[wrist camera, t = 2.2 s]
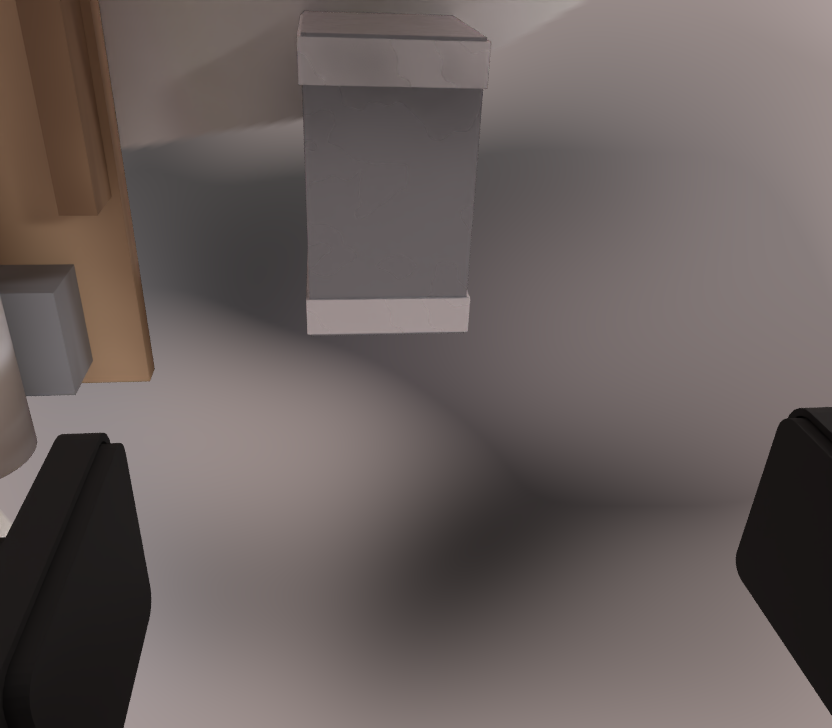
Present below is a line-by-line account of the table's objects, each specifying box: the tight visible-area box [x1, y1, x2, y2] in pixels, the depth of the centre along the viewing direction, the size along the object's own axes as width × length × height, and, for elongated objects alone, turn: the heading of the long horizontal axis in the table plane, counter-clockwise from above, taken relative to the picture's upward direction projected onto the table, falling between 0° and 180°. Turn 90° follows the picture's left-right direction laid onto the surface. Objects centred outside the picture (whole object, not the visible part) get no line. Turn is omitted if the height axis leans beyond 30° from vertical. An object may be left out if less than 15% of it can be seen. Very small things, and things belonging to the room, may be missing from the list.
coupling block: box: [297, 11, 491, 336], centre depth 25 cm, size 5×9×6 cm, turn 178°
